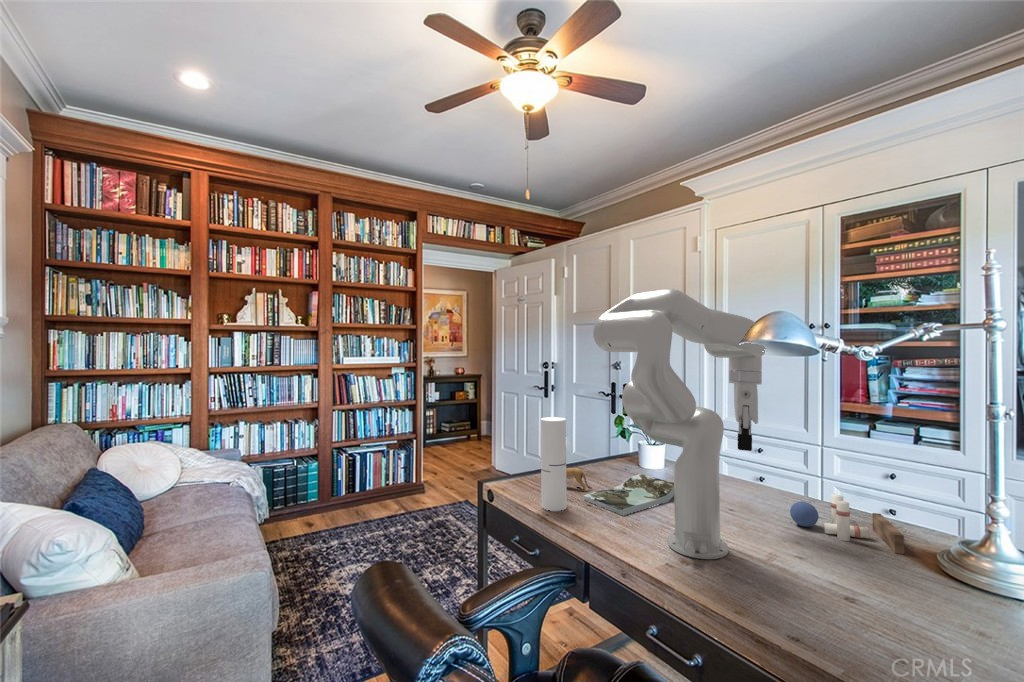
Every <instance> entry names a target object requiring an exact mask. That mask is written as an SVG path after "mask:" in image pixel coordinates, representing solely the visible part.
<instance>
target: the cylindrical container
mask: <svg viewBox="0 0 1024 682" xmlns="http://www.w3.org/2000/svg"><path fill="white" fill-rule="evenodd" d="M566 422H567V418H565V417H559V416H558V417H557V416H548V417H547V416H546V417H541V418H540V464H541V465H540V468H541V469H540V474H541V475H540V476H541V477H540V478H541V479H540V482H541V485H540V486H541V488H540V489H541V492H540V493H541V509H543V508H544V509H543V510H545V509H546V510H545V511H548V510H550V511H549V512H562V511H564V509H565V510H566V509H567V508H568V507H567V499H568V498H567V479H566V467H567V423H566ZM561 510H562V511H561Z"/></svg>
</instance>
